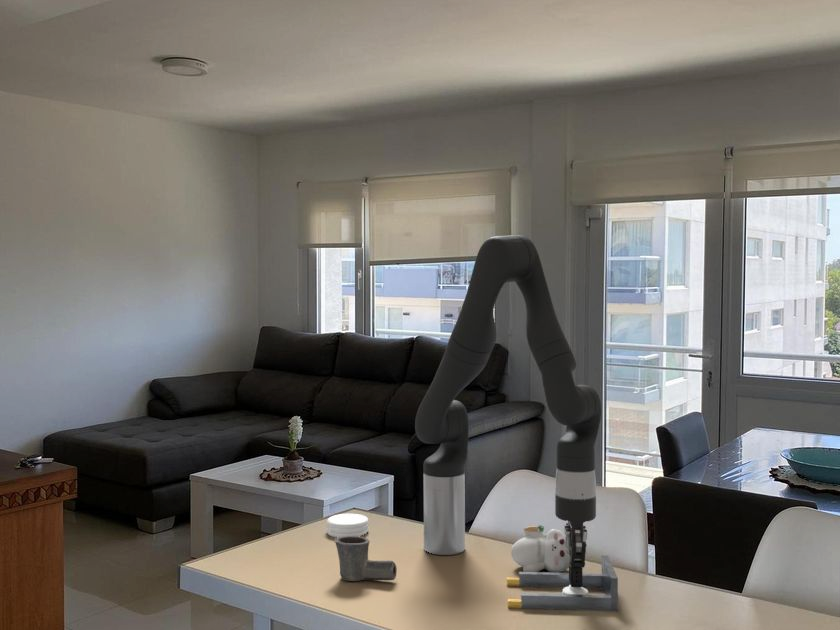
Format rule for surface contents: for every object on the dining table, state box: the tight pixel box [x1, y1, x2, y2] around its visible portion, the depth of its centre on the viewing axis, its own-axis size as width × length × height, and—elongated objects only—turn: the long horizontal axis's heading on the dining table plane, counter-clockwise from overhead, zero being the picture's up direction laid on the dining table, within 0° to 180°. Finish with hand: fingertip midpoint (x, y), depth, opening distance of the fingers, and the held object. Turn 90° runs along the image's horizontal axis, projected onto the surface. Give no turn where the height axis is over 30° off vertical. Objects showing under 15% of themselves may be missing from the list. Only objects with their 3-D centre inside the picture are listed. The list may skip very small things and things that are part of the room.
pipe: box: [334, 536, 398, 582], centre depth 158 cm, size 6×13×8 cm, turn 76°
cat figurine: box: [510, 524, 569, 573], centre depth 163 cm, size 10×8×15 cm
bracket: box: [506, 555, 619, 612], centre depth 148 cm, size 12×20×6 cm, turn 85°
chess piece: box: [561, 559, 590, 595], centre depth 148 cm, size 5×5×10 cm
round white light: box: [326, 513, 370, 538], centre depth 190 cm, size 10×10×4 cm
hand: (575, 583), depth 148 cm, fingers closed on chess piece
